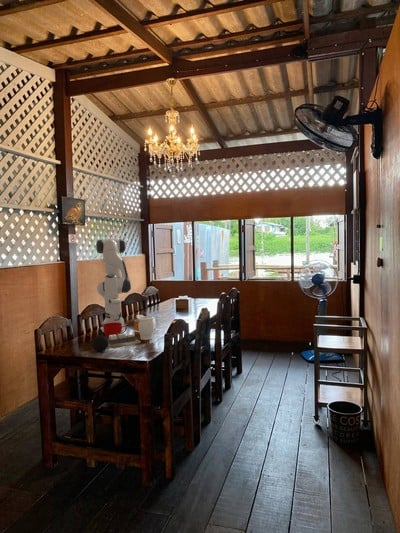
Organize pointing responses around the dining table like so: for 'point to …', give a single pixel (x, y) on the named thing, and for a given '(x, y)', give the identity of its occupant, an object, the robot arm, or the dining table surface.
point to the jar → (146, 327)
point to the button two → (121, 335)
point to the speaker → (100, 343)
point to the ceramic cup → (113, 329)
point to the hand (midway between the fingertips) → (112, 320)
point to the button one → (112, 337)
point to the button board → (122, 342)
